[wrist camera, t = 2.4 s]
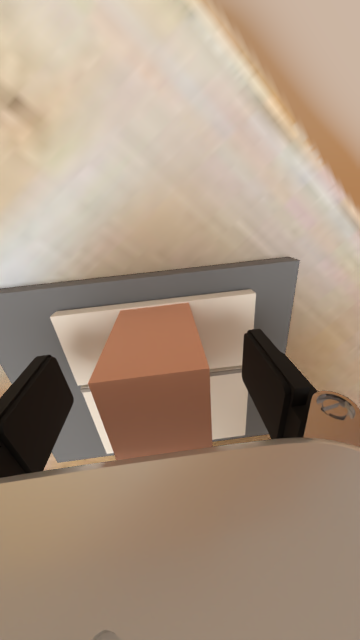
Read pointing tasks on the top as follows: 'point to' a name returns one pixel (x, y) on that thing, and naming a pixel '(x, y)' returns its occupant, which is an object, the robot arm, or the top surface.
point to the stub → (155, 365)
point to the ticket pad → (44, 300)
